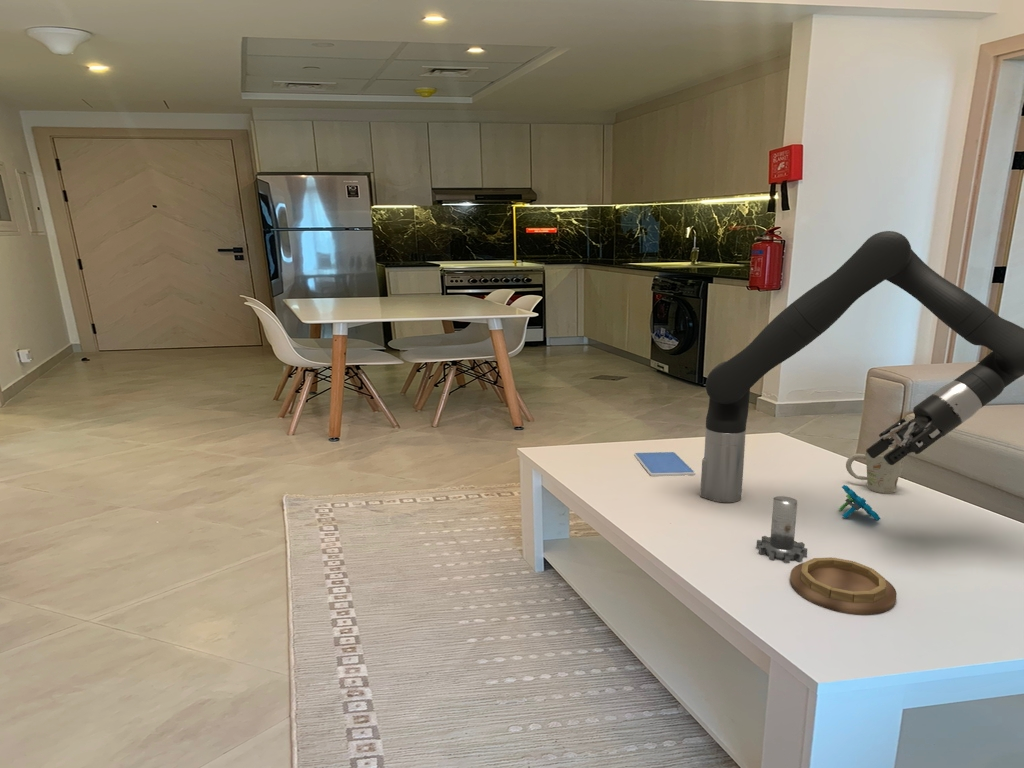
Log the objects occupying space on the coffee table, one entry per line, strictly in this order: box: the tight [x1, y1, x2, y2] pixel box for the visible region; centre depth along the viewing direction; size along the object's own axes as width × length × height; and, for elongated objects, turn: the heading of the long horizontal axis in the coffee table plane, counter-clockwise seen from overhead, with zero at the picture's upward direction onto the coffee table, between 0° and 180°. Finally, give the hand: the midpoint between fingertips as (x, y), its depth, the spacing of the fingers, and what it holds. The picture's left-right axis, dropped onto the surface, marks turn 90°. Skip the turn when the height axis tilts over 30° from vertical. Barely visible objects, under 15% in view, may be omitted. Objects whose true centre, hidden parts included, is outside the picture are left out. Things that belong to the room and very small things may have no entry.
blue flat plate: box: [633, 451, 696, 477], centre depth 187 cm, size 19×13×1 cm, turn 3°
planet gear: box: [755, 495, 808, 564], centre depth 132 cm, size 9×9×11 cm
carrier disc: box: [789, 557, 897, 616], centre depth 118 cm, size 17×17×3 cm
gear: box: [838, 484, 881, 522], centre depth 149 cm, size 11×6×10 cm
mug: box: [845, 446, 905, 494], centre depth 167 cm, size 8×13×10 cm, turn 58°
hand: (877, 457), depth 133 cm, fingers open, 8 cm apart
